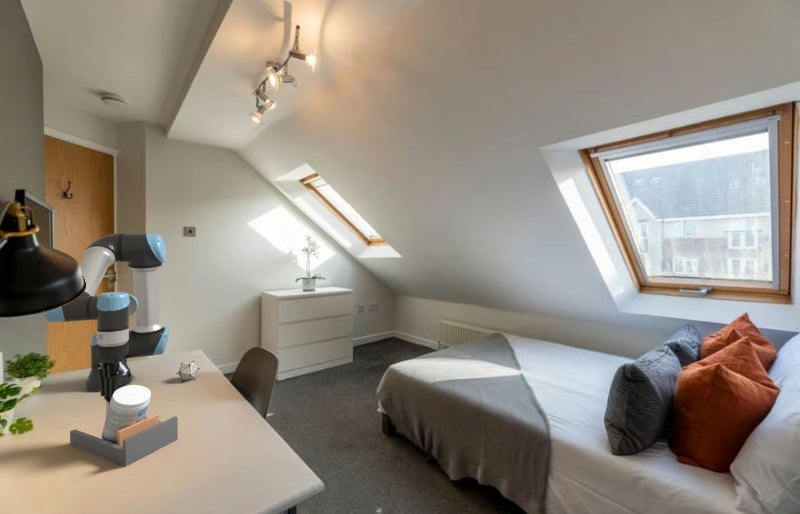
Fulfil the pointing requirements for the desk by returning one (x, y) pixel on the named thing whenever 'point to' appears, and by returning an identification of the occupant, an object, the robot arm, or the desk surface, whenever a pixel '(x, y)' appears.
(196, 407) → the desk surface
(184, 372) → the game die
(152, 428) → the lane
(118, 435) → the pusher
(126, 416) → the supplement tub
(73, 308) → the robot arm
